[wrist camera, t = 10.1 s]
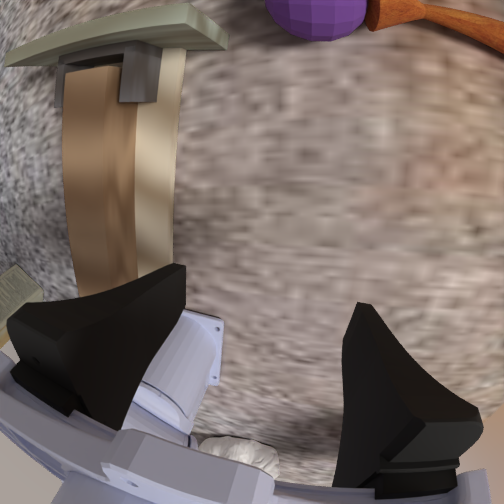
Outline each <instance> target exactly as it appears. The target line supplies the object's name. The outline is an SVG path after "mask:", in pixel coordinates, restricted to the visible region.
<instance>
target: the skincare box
mask: <svg viewBox="0 0 504 504" xmlns="http://www.w3.org/2000/svg"><path fill="white" fill-rule="evenodd" d="M43 293H44V291H43V289H42V288H41V287H40V286H39V285H38V284H37V283H36V282H35V281H33V280H32V279H31V278H30V277H29V276H28V275H27V274H26V273H25V272H24V271H23V270H22V269H21V268H20V267H19V266H18V265H17V264H15V265H14V266H12V267H11V268H10V269H8V270H7V271H6V272H4V273H3V274H2V275H0V349H1V348H2V347H3V346H4V345H5V344H6V343H7V342H8V341H9V339H10V337H9V334H8V332H7V327H6V322H7V319H8V318H9V317H10V316H11V315H12V314H13V313H15V312H16V311H17V310H18V309H19V308H20V307H21V306H22V305H24V304H25V303H26V302H43Z"/></svg>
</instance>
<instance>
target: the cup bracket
mask: <svg viewBox="0 0 504 504" xmlns="http://www.w3.org/2000/svg"><path fill="white" fill-rule="evenodd" d="M228 39H229V34H228V33H226V32H225V31H224V30H223V29H222V28H221V27H219V26H218V25H217V24H216V23H214V22H213V21H212V20H211V19H210V18H208V17H207V16H206V15H204V14H203V13H202V12H201V11H199V10H198V9H197V8H195V7H194V6H193V5H191V4H190V3H180V4H171V5H164V6H157V7H150V8H144V9H139V10H133V11H128V12H123V13H119V14H114V15H110V16H106V17H102V18H98V19H95V20H91V21H88V22H84V23H81V24H78V25H74V26H71V27H68V28H65V29H62V30H60V31H57V32H54V33H51V34H49V35H46V36H44V37H41V38H39V39H36V40H34V41H31V42H29V43H27V44H24V45H22V46H20V47H18V48H16V49H14V50H11V51H9V52H7V53H6V58H5V65H4V67H19V66H58V68H57V77H56V88H55V102H54V108H58V107H63V99H64V86H65V76H66V73H70V72H75V71H80V70H86V69H91V68H97V67H104V66H113V67H120V68H122V76H121V86H120V97H119V102H138V111H137V126H136V145H135V230H136V250H137V266H138V278H140V277H142V276H144V275H146V274H149V273H151V272H153V271H155V270H157V269H159V268H162V267H164V266H166V265H169V264H171V263H173V211H174V183H175V164H176V148H177V134H178V122H179V111H180V101H181V92H182V83H183V75H184V67H185V59H186V52H187V50H227V46H228Z"/></svg>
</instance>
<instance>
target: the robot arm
mask: <svg viewBox="0 0 504 504" xmlns="http://www.w3.org/2000/svg"><path fill="white" fill-rule="evenodd" d="M185 306H186V266H185V265H180V264H176V263H171V264H169V265H166V266H164V267H162V268H159V269H157V270H155V271H153V272H151V273H149V274H146V275H144V276H142V277H140V278H138V279H135V280H133V281H130V282H128V283H126V284H123V285H121V286H118V287H115V288H113V289H110V290H107V291H103V292H100V293H97V294H93V295H88V296H84V297H79V298H75V299H68V300H61V301H51V302H26V303H25V304H24V305H22V306H21V307H20V308H19V309H18V310H17V311H16V312H15V313H13V314H12V315H11V316H10V317H9V318H8V319H7V322H6V327H7V332H8V334H9V337H10V339H11V341H12V344H13V346H14V348H15V350H16V352H17V354H18V356H19V358H20V361H19V362H18V363H17V364H15V363H14V362H13V360H12V359H11V358H9V357H8V356H7V355H6V354H4V353H3V352H2V351H0V431H1V432H2V433H4V434H5V435H6V436H7V437H8V438H9V439H10V440H11V441H12V442H13V443H15V444H16V445H17V446H18V447H19V448H21V449H22V450H23V451H24V452H25V453H26V454H28V455H29V456H30V457H31V458H33V459H34V460H35V461H36V462H38V463H39V464H40V465H42V466H43V467H44V468H46V469H47V470H49V471H50V472H51V473H52V474H54V475H55V476H56V477H58V478H59V479H61V481H62V486H61V487H60V489H59V491H58V492H57V494H56V496H55V497H54V499H53V501H52V502H51V504H492V503H491V496H490V489H489V484H488V478H487V472H486V469H480V470H474V471H469V472H464V473H461V474H459V475H457V476H456V470H455V469H456V468H458V467H459V465H460V463H459V457H460V456H461V455H462V454H463V453H464V452H466V451H467V450H468V449H469V448H470V447H471V446H472V445H473V444H474V443H475V442H476V441H477V440H478V439H479V438H480V436H481V434H482V432H483V428H484V427H483V423H482V420H481V416H480V413H479V410H478V408H477V407H476V406H474V405H472V404H470V403H469V402H467V401H465V400H463V399H462V398H460V397H458V396H457V395H455V394H454V393H452V392H451V391H450V390H448V389H447V388H445V387H444V386H443V385H441V384H440V383H439V382H438V381H437V380H435V379H434V378H433V377H432V376H431V375H429V374H428V373H427V372H426V371H425V370H424V369H423V368H422V367H421V366H420V365H419V364H418V363H417V362H416V361H415V360H414V359H413V358H412V357H411V356H410V355H409V353H408V352H407V351H406V350H405V349H404V348H403V346H402V345H401V344H400V343H399V341H398V340H397V339H396V338H395V336H394V335H393V334H392V332H391V331H390V330H389V328H388V327H387V325H386V324H385V323H384V321H383V320H382V318H381V317H380V316H379V314H378V313H377V311H376V310H375V309H374V307H373V306H372V305H371V304H366V303H361V302H357V304H356V307H355V310H354V312H353V315H352V317H351V320H350V323H349V325H348V328H347V330H346V333H345V335H344V338H343V345H342V378H343V397H344V414H343V424H342V434H341V441H340V448H339V454H338V460H337V465H336V471H335V475H334V479H333V484H332V487H322V486H313V485H304V484H296V483H289V482H282V481H276V480H274V479H273V477H272V476H271V475H270V474H268V473H267V472H265V471H263V470H262V469H260V468H258V467H255V466H252V465H249V464H246V463H243V462H240V461H236V460H232V459H228V458H224V457H220V456H216V455H213V454H209V453H206V452H202V451H199V450H198V444H197V440H196V438H195V437H194V436H193V435H190V432H191V430H192V427H193V425H194V423H193V420H194V418H195V416H196V413H197V411H198V408H199V406H200V404H201V401H202V399H203V397H204V394H205V392H206V390H207V387H208V385H209V384H210V385H214V386H217V385H218V384H219V381H220V368H221V356H222V344H223V332H224V322H223V320H221V319H219V318H215V317H211V316H207V315H203V314H200V313H196V312H192V311H188V310H185V309H184V308H185ZM217 327H219V328H220V329H218V328H217Z"/></svg>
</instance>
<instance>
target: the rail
mask: <svg viewBox="0 0 504 504" xmlns="http://www.w3.org/2000/svg"><path fill="white" fill-rule="evenodd" d="M121 76H122V68H120V67H113V66H104V67H97V68H91V69H86V70H80V71H75V72H70V73H66V76H65V86H64V99H63V120H62V163H63V184H64V198H65V209H66V218H67V227H68V235H69V242H70V248H71V255H72V261H73V266H74V272H75V277H76V282H77V287H78V292H79V296H80V297H84V296H88V295H93V294H97V293H100V292H103V291H107V290H110V289H113V288H115V287H118V286H121V285H123V284H126V283H128V282H130V281H133V280H135V279H138V266H137V250H136V230H135V145H136V126H137V111H138V102H119V97H120V86H121Z"/></svg>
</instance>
